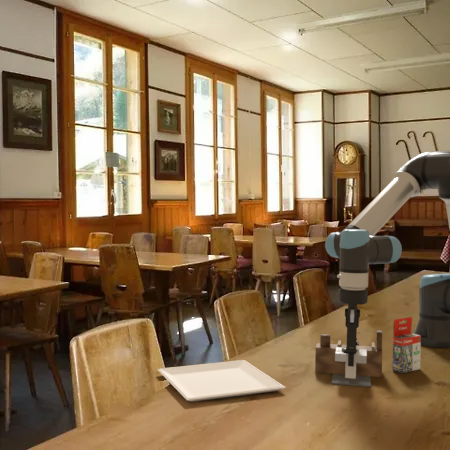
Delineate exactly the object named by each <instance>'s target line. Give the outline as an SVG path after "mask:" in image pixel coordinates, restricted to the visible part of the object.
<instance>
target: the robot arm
mask: <svg viewBox="0 0 450 450" xmlns="http://www.w3.org/2000/svg"><path fill="white" fill-rule="evenodd" d="M391 178H392V179H391V181H390V182H389V183H388V184H387V185H386V187H384V188H383V189H382V190H381V192H379V193H378V194H377V195H376V197H374V198H373V200H372V201H371V202H370V203H368V205H367V206H366V207H364V209H362V211H361V212H360V213H359V214H358V215H357V216H356V217H355V218H354V219H353V220H352V221H351V222H349V224H348V225H347V226H346V227H345V228H344V229H343V230H342V231H336V232H334V231H333V232H330V234H329V235H327V236H326V240H325V244H324V247H325V250H326V252H327V254H328V255H329V256H330V257H332V258H336V259H339V274H337V275H336V278H337V279H339V280H338V286H340V287H339V289H338V302H339V303H340V304H341V303H342V304H343V305H345V304H347V306H348V307H347V308H344V316H345V321H344V322H345V323H344V324H345V328H346V345H347V346H346V351H343V353H346V364H345V374H344V375H345V378H353V379H356V353H357V350H356V349H357V346H360V342H359V341H358V338H357V335H358V334H357V331H358V328H359V327H360V326H359V325H360V317H361V309H359V307H358V305H366V304H367V303H368V297H369V295H368V293H369V291H368V289H367V288H369V268H370V267H369V266H370V265H378V264H379V265H381V264H385V265H388V264H392V263H396V262H397V261H398V260H399V259H401V255H402V252H403V250H402V249H403V248H402V247H403V246H402V244H401V242H400V240H399V239H398V238H397V237H395V236H392V235H376V234H378V232H379V231H380V230H381V229H382V228H383V227H384V226H385V224H387V223H388V221H389V220H391V218H392V217H394V215H395V214H396V213H397V212H398V211H399V210H400V209H401V208H402V207H403V205H405V203H407V202H408V200H409V199H411V198H414V197H417V196H418V195H419V194H420V193H421V192H422V191H426V190H437V191H438V193H437V194H438V198H439V199H441V200H442V201H443V202H444V203H445V209H446V215H447V223H448V228H449V230H450V150H449V149H448V150H438V151H436V150H434V151H432V150H431V151H426V152H423V153H420V154H418V155H416V156H414V157H413V158H411V159H410V160H408V161H407V162H405V163H404V164H403V165H402V166H401V167H399V169H398V170H396V172H395V173H394V174H393V175H392V176H391ZM418 290H419V295H418V297H419V298H418V300H419V301H418V302H419V303H418V304H419V305H418V308H419V309H418V320H417V323H416V325H415V329H414V331H413V333H412V334H416V335H421V346H425V347H428V348H429V347H430V348H440V349H441V348H443V349H449V348H450V273H430V274H424V275H422V276H421V277H420V280H419V288H418Z"/></svg>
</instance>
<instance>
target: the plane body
mask: <svg viewBox="0 0 450 450" xmlns="http://www.w3.org/2000/svg"><path fill="white" fill-rule="evenodd" d="M319 335H320V339H319V343H318V342H317V343H316V345H315V360H314V365H315V367H314V369H315V370H314V372H315V373H321V374H322V373H323V374H332V375H333V374H344V375H345V364H346V362H340V361H335V352H336V347H341V348H346V346H347V344H342V340H339V339H338V340H337V343H331V334H328V333H327V334H326V333H325V334H324V333H322V334H319ZM375 342H376V344H375ZM375 342H374V341H373V342H371V346H370V345H369V346H367V345H359V346H358V345H356V346H357V349H365V350H367V361H366V364H363V363H356V375H358V376H371V377H376V378H382V377H383V331H382V330H381V329H377V330H376V341H375Z"/></svg>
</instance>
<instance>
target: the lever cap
mask: <svg viewBox="0 0 450 450" xmlns="http://www.w3.org/2000/svg"><path fill="white" fill-rule="evenodd" d="M356 350H357V353H356V363H363V364H366V361H367V350H365V349H356ZM343 351H346V348H341V347H336V352H335V361H340V362H346V353H343Z"/></svg>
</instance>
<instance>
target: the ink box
mask: <svg viewBox="0 0 450 450" xmlns="http://www.w3.org/2000/svg"><path fill="white" fill-rule="evenodd" d="M403 321H405V322H403ZM400 322H403V323H400ZM412 323H413V317H412V316H409V317H403V318H397V319H394V320H393V336H392V366H391V367H392V371H393V372H396V373H398V374H399V373H400V374H405V373H408V372H409V373H410V372H413V371H419V370H421V351H422V350H421V348H422V347H421V346H422V345H421V335H416V334H413V333H412V327H413V326H412Z"/></svg>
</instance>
